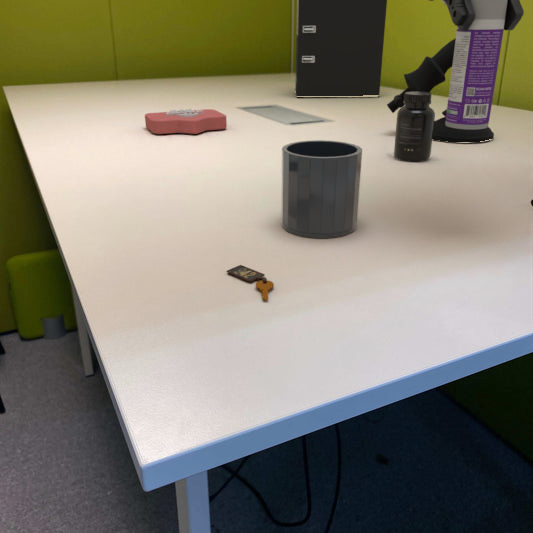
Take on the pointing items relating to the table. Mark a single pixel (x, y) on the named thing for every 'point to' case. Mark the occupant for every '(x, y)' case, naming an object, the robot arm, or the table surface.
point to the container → (476, 66)
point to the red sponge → (185, 121)
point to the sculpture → (425, 81)
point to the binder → (339, 47)
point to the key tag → (253, 278)
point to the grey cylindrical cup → (320, 188)
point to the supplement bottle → (414, 128)
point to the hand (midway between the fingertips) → (491, 24)
